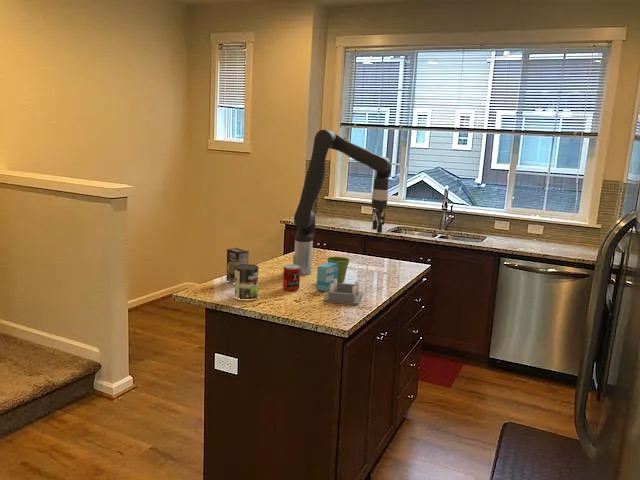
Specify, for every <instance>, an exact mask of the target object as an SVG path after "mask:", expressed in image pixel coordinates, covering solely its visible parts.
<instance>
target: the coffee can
mask: <svg viewBox="0 0 640 480" xmlns="http://www.w3.org/2000/svg"><path fill="white" fill-rule="evenodd" d="M259 269H260V268H259V265H256V264H253V263H252V264H249V263H248V264H240V265H236V266H235V285H234V296H235V297H237V298H240V299H255V298H257V297H258V290H259V287H258V286H259ZM257 299H258V298H257Z"/></svg>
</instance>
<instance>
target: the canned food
mask: <svg viewBox="0 0 640 480" xmlns="http://www.w3.org/2000/svg"><path fill="white" fill-rule="evenodd" d="M282 275H283V277H282V278H283V281H282V289H283V290H284V289H285V290H284V291H287V290H288V292H296V291H295V290H297V291H298V289H299V290H300V279H301V278H300V277H301V274H300V266H299V265H294V264H293V263H291V264H290V263H289V264H284V266H283V274H282Z"/></svg>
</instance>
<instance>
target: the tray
mask: <svg viewBox="0 0 640 480" xmlns="http://www.w3.org/2000/svg"><path fill="white" fill-rule="evenodd" d="M354 283H355V284H354ZM354 283H353V284H352V283H342V282H337V279H334V283H333V284H330V290H329V291H328V293H327V294H326V296H325V297H324V299H323V302H324V303H331V304H338V303H339V304H340V305H341V304H342V305H348V304H350V305H349V306H357V305H359V303H360V302H361V300H362V297H363V295H364V292H362V291H360V290H359V289H360V288H359V287H360V285H359V284H360V281H358V280H355V281H354Z"/></svg>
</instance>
